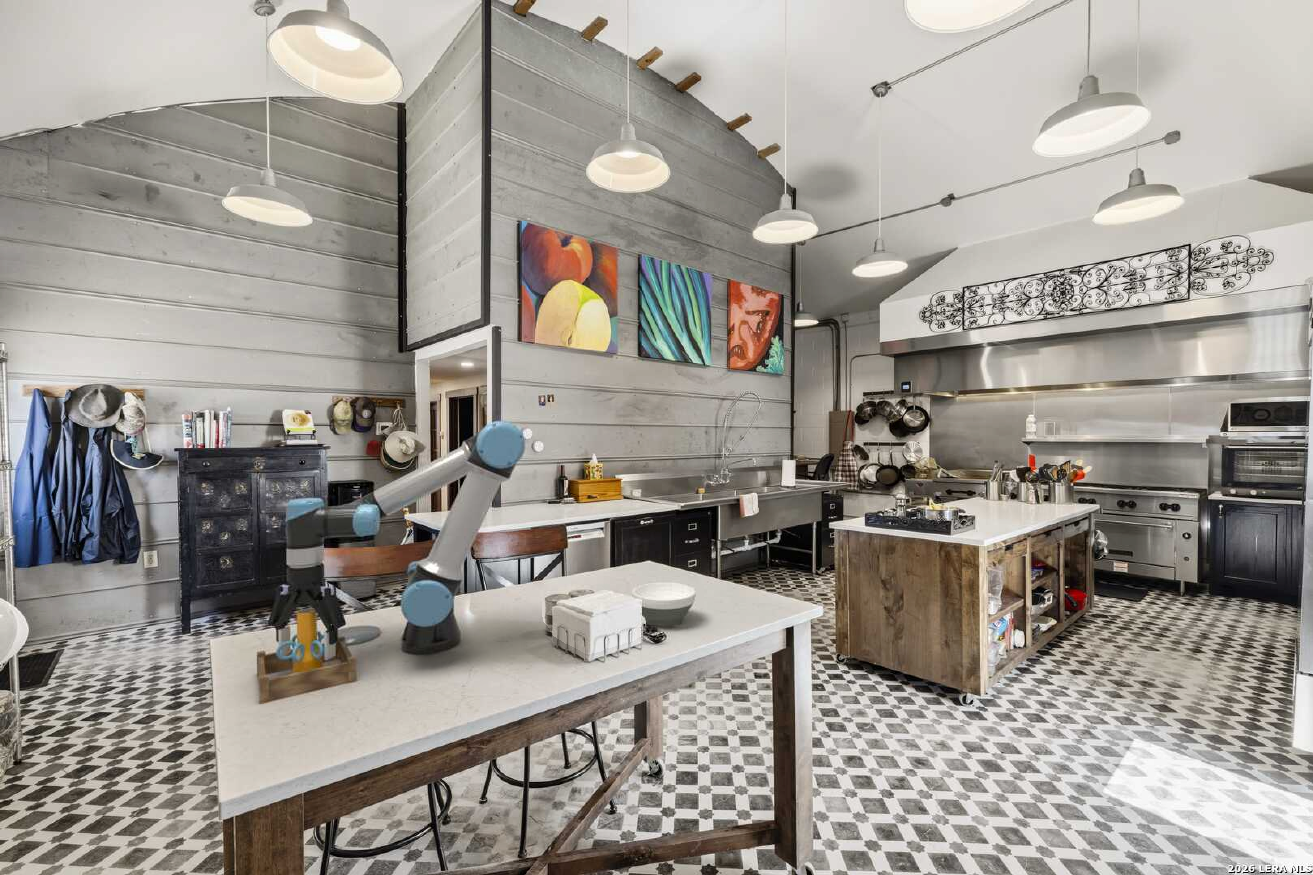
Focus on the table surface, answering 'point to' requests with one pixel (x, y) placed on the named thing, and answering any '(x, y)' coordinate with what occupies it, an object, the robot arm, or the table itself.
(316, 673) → the crate
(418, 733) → the table surface
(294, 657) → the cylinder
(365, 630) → the trivet
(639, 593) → the bowl
